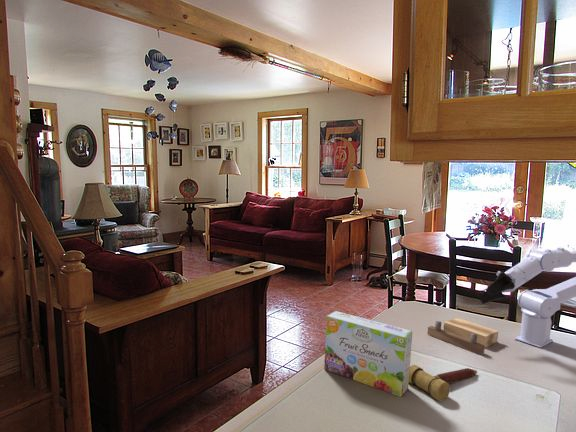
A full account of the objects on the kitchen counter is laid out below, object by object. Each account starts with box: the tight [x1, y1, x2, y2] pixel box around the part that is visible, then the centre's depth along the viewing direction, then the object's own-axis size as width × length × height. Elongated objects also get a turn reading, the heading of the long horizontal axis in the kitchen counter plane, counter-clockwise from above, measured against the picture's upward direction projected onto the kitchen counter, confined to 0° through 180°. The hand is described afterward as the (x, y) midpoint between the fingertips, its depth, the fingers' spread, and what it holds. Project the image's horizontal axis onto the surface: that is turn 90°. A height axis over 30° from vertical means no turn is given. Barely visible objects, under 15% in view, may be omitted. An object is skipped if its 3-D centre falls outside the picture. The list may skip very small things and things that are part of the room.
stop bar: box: [427, 320, 486, 356], centre depth 131 cm, size 2×18×5 cm, turn 37°
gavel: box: [409, 364, 478, 402], centre depth 106 cm, size 21×5×10 cm
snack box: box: [324, 310, 413, 398], centre depth 105 cm, size 21×6×15 cm, turn 55°
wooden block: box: [443, 317, 499, 348], centre depth 136 cm, size 8×14×4 cm, turn 38°
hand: (484, 296), depth 128 cm, fingers open, 7 cm apart
